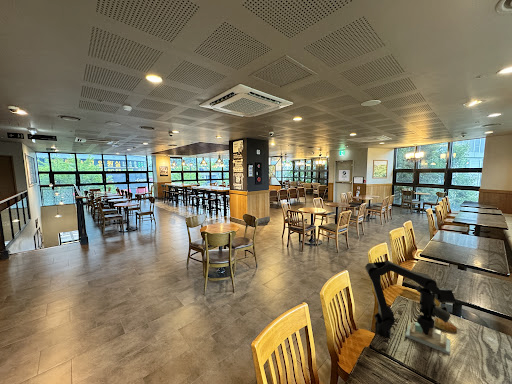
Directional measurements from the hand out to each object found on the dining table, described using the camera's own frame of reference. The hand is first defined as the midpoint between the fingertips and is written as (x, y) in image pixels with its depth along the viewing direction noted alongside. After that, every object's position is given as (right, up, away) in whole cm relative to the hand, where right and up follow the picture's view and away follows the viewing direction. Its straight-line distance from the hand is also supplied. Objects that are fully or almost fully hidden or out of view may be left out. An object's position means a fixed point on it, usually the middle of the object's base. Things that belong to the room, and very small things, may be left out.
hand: (427, 329), depth 106 cm
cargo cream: (+3, -2, -3) cm, 4 cm away
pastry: (+17, -5, +10) cm, 20 cm away
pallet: (0, -4, 0) cm, 4 cm away
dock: (0, -7, 0) cm, 6 cm away
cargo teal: (-2, -2, +3) cm, 4 cm away
